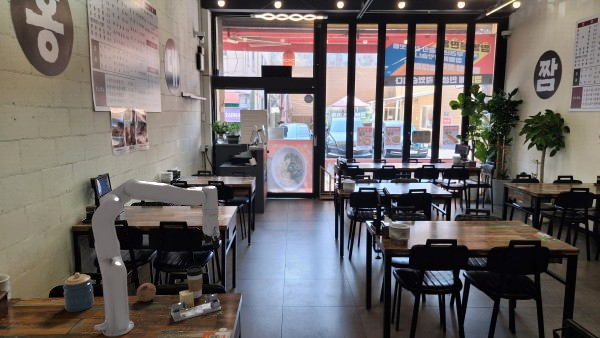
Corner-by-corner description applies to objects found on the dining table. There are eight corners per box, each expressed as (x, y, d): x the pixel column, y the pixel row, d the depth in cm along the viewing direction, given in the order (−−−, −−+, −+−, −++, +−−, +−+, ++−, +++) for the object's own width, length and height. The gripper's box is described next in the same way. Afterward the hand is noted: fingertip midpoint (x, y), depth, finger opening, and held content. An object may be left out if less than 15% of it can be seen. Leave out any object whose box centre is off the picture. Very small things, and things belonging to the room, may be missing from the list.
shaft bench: (174, 321, 180) (174, 307, 179) (170, 314, 187) (170, 300, 186) (220, 309, 191) (220, 295, 190) (215, 303, 198) (214, 289, 197)
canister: (99, 300, 203) (96, 267, 201) (85, 312, 191) (82, 277, 188) (74, 300, 204) (71, 268, 202) (59, 312, 191) (55, 278, 189)
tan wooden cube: (182, 309, 192) (182, 295, 191) (180, 305, 197) (179, 291, 196) (194, 306, 195) (193, 293, 194) (191, 302, 199) (190, 289, 199)
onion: (147, 308, 200) (143, 295, 194) (134, 300, 203) (130, 288, 198) (161, 295, 207) (158, 282, 201) (148, 288, 210) (145, 275, 205)
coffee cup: (206, 292, 211) (204, 265, 209) (200, 299, 202) (199, 271, 200) (191, 292, 211) (189, 265, 210) (185, 299, 203) (183, 271, 201)
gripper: (196, 209, 196) (198, 242, 198) (210, 215, 182) (212, 251, 184) (210, 207, 200) (212, 239, 203) (225, 213, 187) (226, 248, 189)
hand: (212, 245), depth 193 cm, fingers open, 9 cm apart
